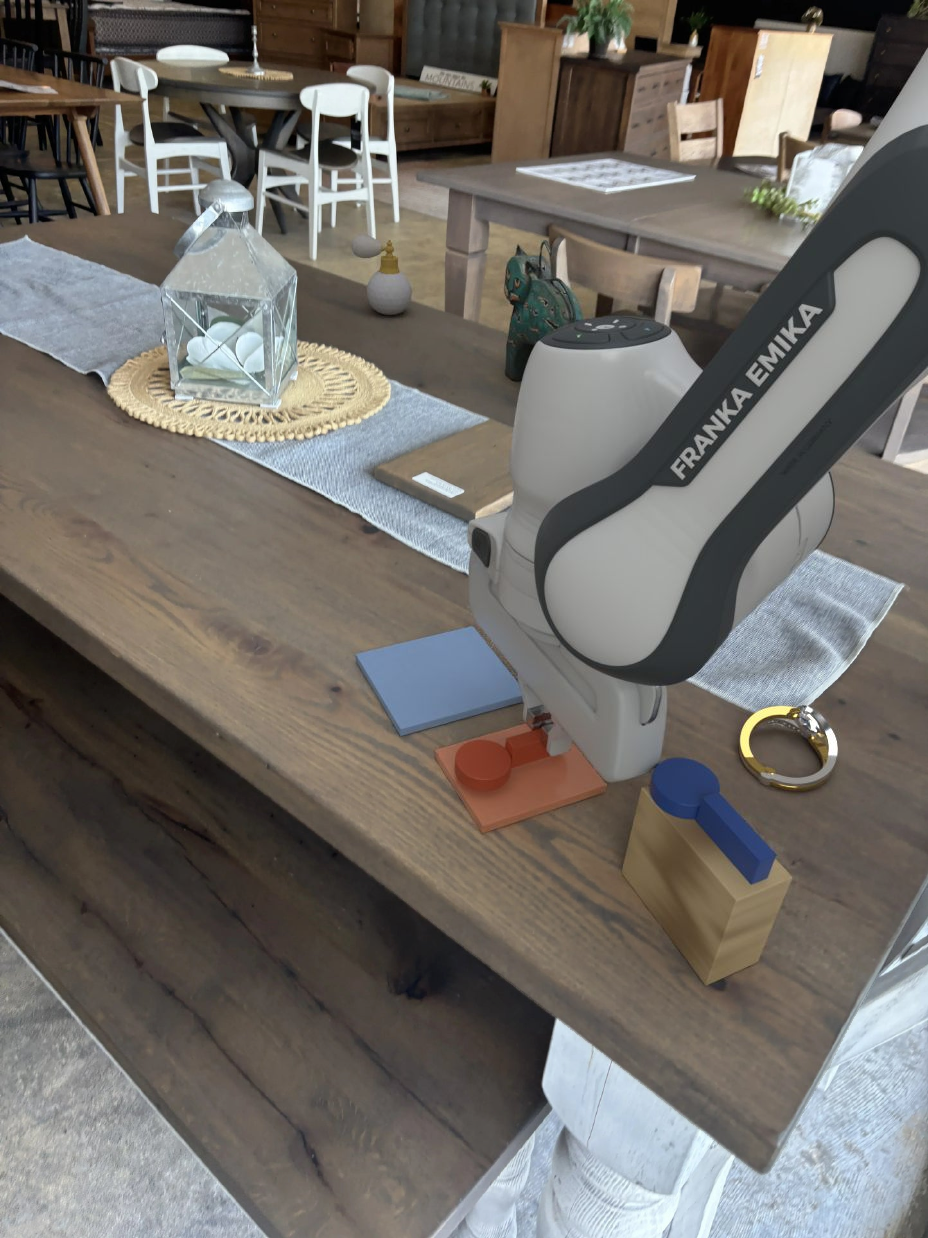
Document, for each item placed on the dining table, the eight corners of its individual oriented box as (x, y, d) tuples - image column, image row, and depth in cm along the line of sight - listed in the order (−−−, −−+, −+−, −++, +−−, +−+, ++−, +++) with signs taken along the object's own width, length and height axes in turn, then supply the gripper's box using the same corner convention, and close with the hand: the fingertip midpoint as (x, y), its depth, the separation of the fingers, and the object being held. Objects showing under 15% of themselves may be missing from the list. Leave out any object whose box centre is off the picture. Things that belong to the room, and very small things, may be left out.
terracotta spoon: (553, 728, 69) (556, 708, 67) (580, 763, 66) (584, 743, 65) (445, 760, 65) (446, 739, 64) (469, 798, 62) (470, 777, 61)
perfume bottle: (414, 319, 151) (416, 243, 144) (356, 320, 149) (355, 243, 142) (407, 305, 157) (408, 232, 150) (351, 306, 155) (349, 231, 148)
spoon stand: (758, 962, 55) (793, 877, 50) (705, 986, 53) (736, 901, 49) (670, 853, 61) (693, 769, 57) (620, 872, 60) (640, 787, 55)
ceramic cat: (493, 370, 134) (503, 226, 122) (533, 367, 135) (548, 224, 124) (547, 424, 119) (565, 265, 107) (592, 420, 120) (614, 263, 109)
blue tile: (526, 701, 73) (527, 693, 73) (400, 736, 69) (400, 729, 69) (472, 632, 81) (473, 625, 80) (355, 661, 76) (355, 653, 76)
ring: (805, 817, 66) (850, 749, 70) (813, 790, 64) (859, 722, 68) (718, 771, 70) (767, 709, 74) (723, 744, 68) (773, 682, 72)
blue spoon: (787, 870, 50) (796, 846, 49) (730, 893, 49) (739, 869, 48) (688, 763, 57) (695, 740, 56) (636, 781, 55) (641, 758, 54)
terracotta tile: (605, 792, 66) (607, 784, 65) (482, 834, 62) (482, 826, 61) (550, 723, 71) (551, 715, 71) (434, 757, 68) (434, 749, 67)
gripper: (711, 659, 51) (666, 825, 59) (535, 496, 66) (518, 647, 74) (618, 686, 49) (584, 855, 57) (456, 511, 63) (447, 665, 72)
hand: (545, 736), depth 66 cm, fingers closed on terracotta spoon, 1 cm apart
